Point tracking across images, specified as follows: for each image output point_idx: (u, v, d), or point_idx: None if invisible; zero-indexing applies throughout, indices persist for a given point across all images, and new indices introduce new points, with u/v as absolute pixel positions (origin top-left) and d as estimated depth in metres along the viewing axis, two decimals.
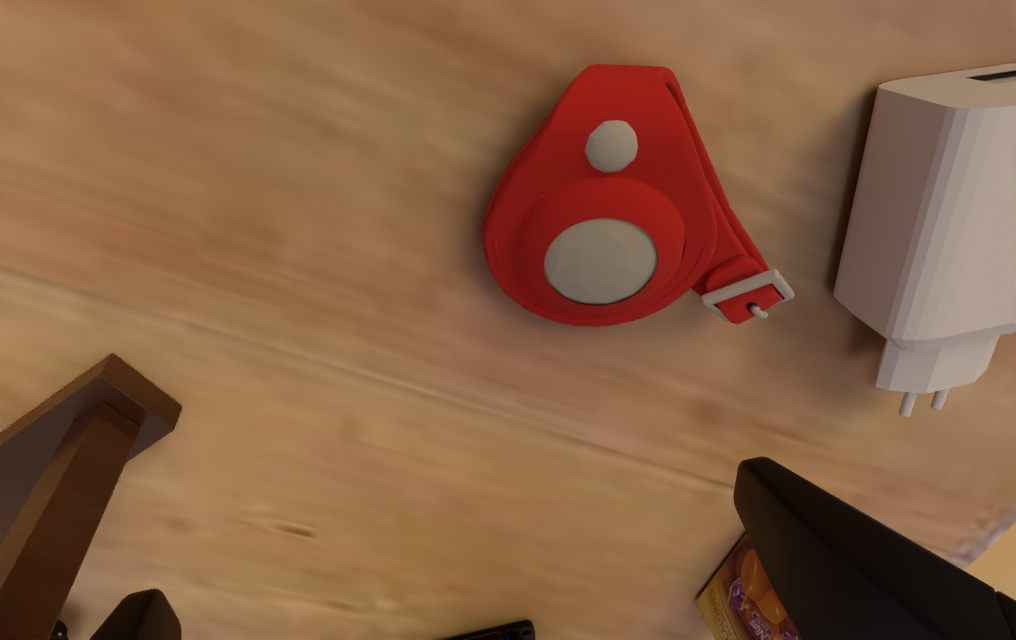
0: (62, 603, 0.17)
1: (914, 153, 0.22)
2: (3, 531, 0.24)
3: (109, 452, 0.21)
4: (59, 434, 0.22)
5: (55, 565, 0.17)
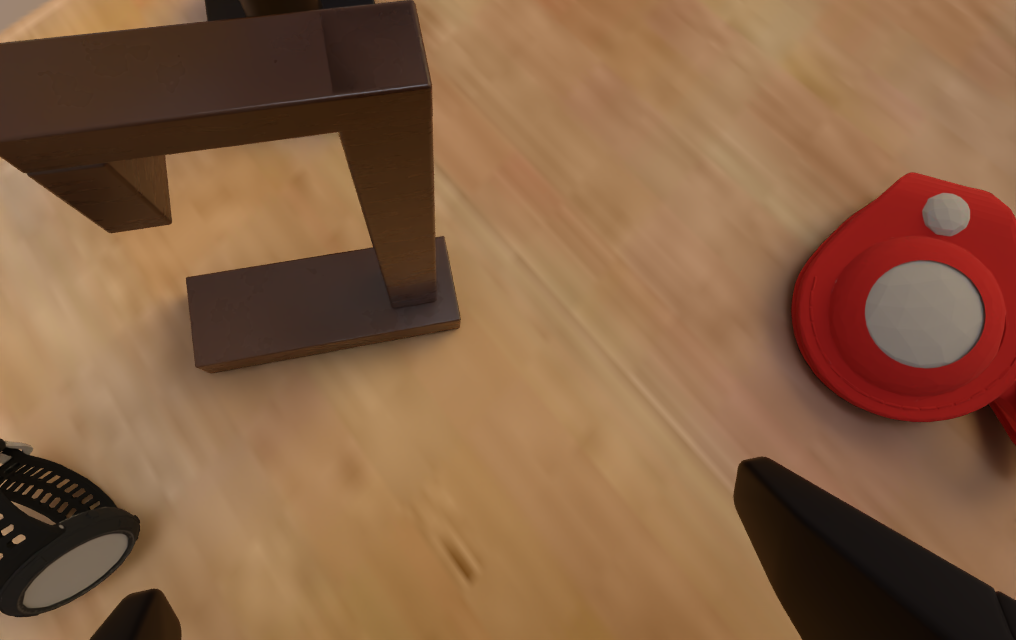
0: (434, 222, 0.15)
1: None
2: (229, 346, 0.21)
3: None
4: (369, 272, 0.22)
5: None
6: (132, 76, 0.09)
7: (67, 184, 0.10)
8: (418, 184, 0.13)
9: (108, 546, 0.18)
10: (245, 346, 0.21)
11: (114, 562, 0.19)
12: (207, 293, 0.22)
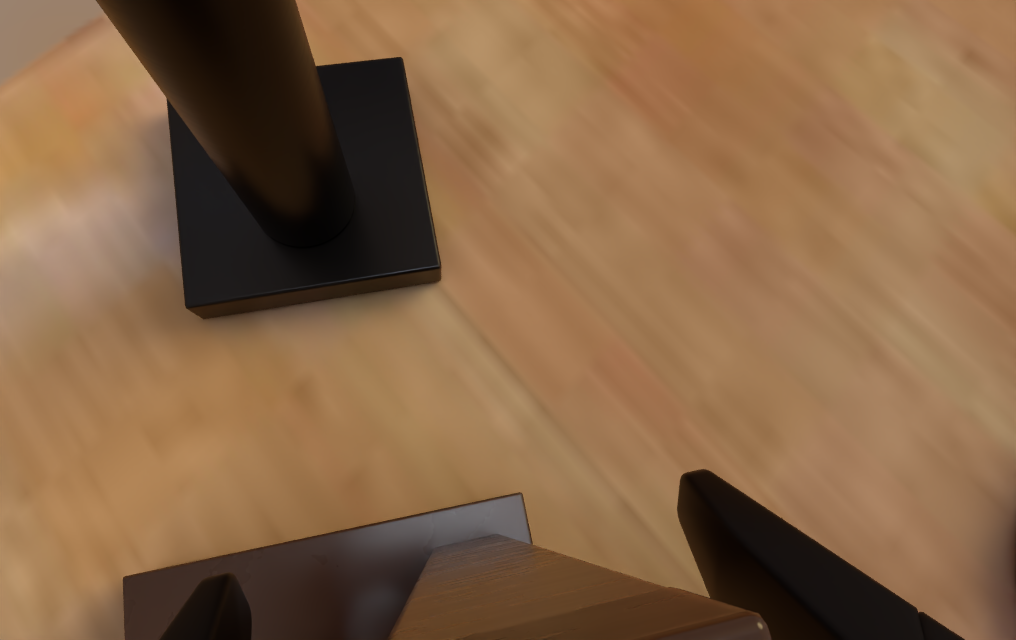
0: None
1: None
2: None
3: None
4: (408, 557, 0.14)
5: None
6: None
7: None
8: None
9: None
10: None
11: None
12: (154, 604, 0.14)
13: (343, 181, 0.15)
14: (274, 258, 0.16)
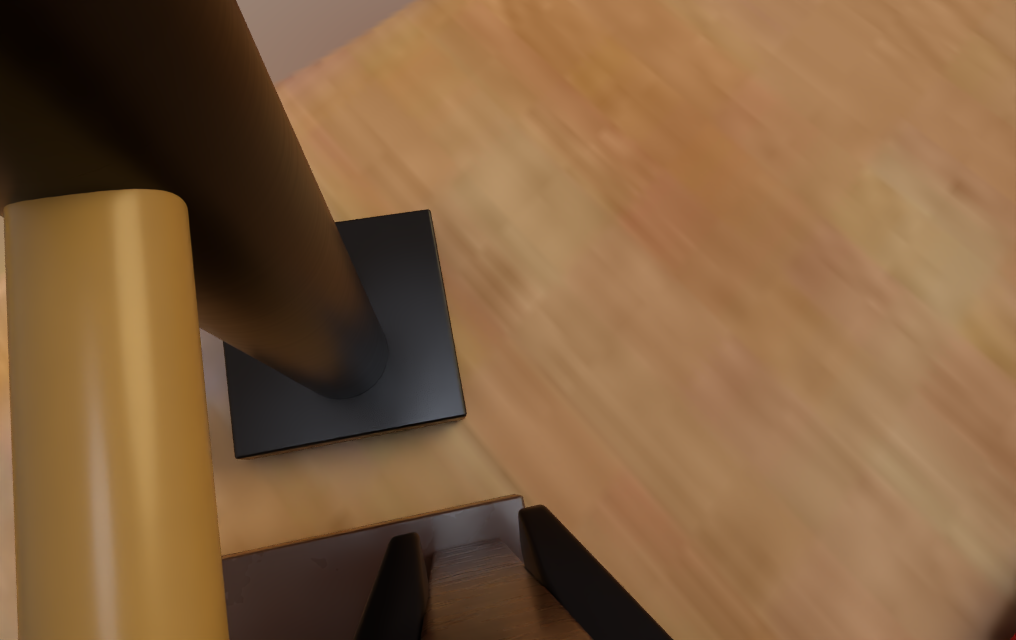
0: None
1: None
2: None
3: None
4: None
5: None
6: None
7: None
8: None
9: None
10: None
11: None
12: None
13: (381, 353, 0.16)
14: (315, 410, 0.18)
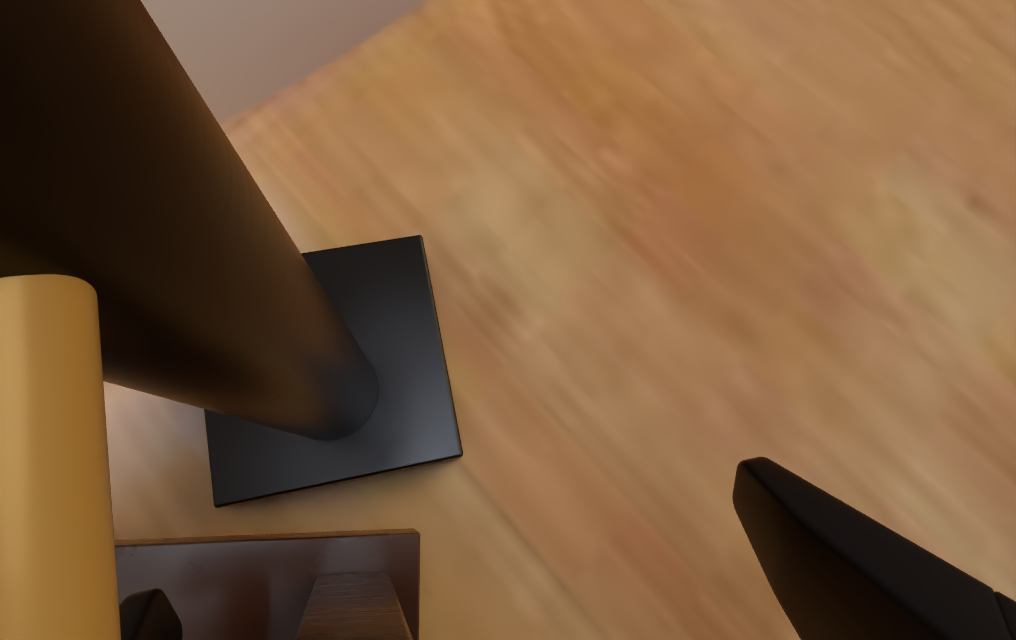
0: None
1: None
2: None
3: None
4: (289, 580, 0.14)
5: None
6: None
7: None
8: None
9: None
10: None
11: None
12: None
13: (369, 392, 0.15)
14: (300, 453, 0.16)
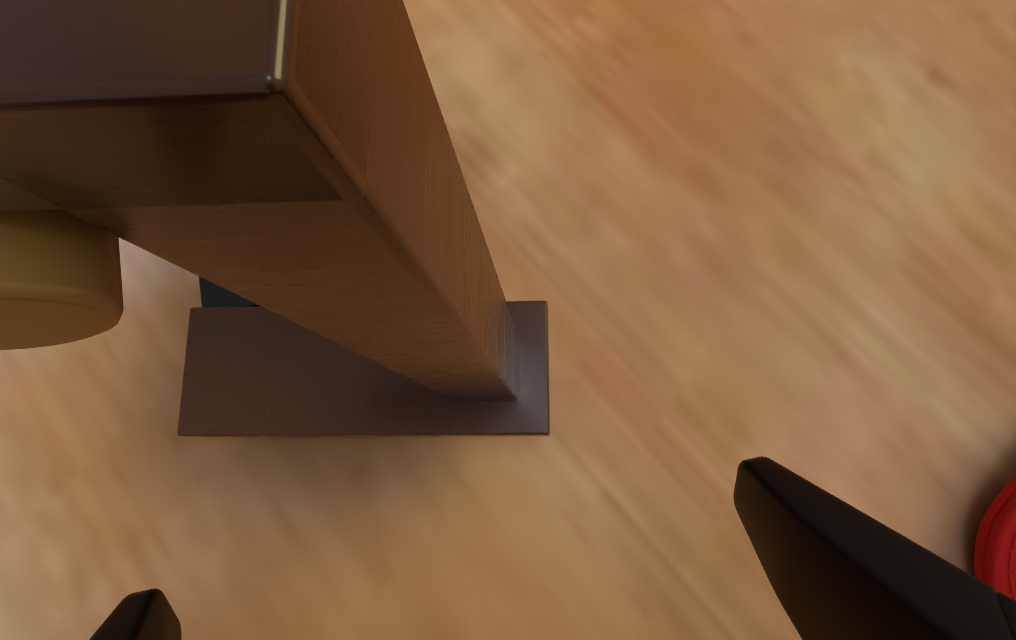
0: (482, 346, 0.08)
1: None
2: (224, 414, 0.15)
3: (513, 361, 0.13)
4: None
5: (490, 314, 0.09)
6: None
7: None
8: (410, 310, 0.05)
9: None
10: (244, 418, 0.15)
11: None
12: (212, 334, 0.16)
13: None
14: None
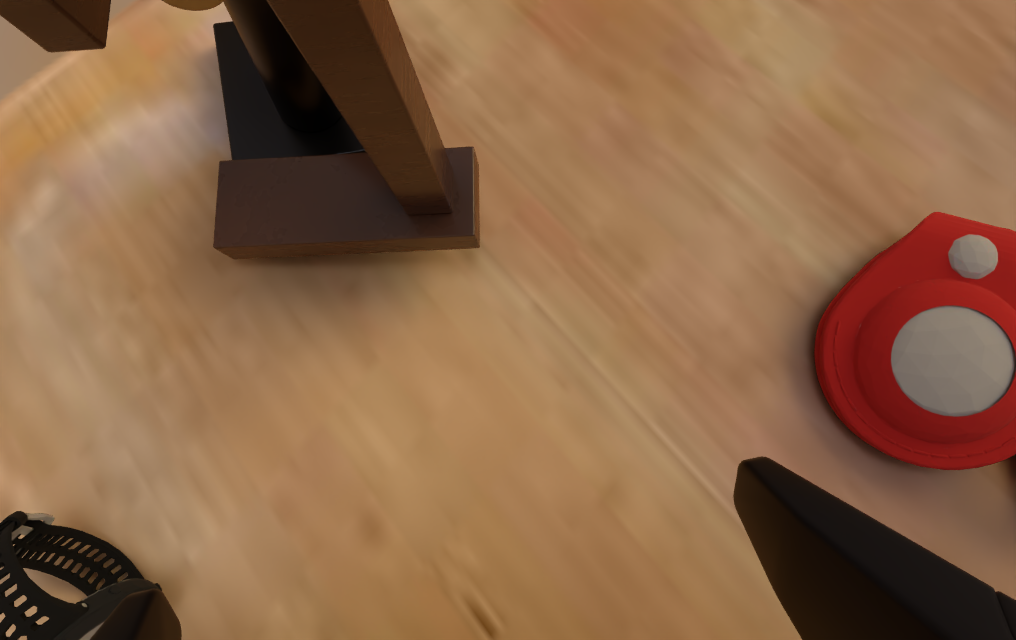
0: (400, 91, 0.14)
1: None
2: (246, 232, 0.22)
3: (443, 171, 0.19)
4: None
5: (409, 89, 0.15)
6: None
7: None
8: (350, 24, 0.12)
9: None
10: (260, 233, 0.22)
11: None
12: (235, 178, 0.22)
13: None
14: (292, 139, 0.24)
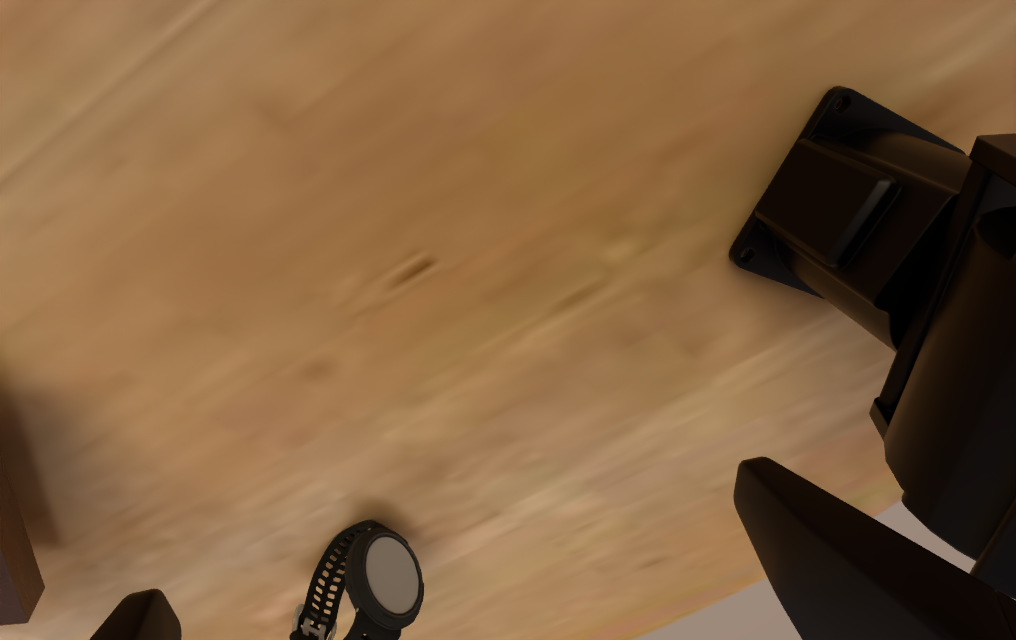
0: None
1: None
2: (0, 601, 0.20)
3: None
4: None
5: None
6: None
7: None
8: None
9: (376, 559, 0.23)
10: None
11: (390, 540, 0.24)
12: None
13: None
14: None
